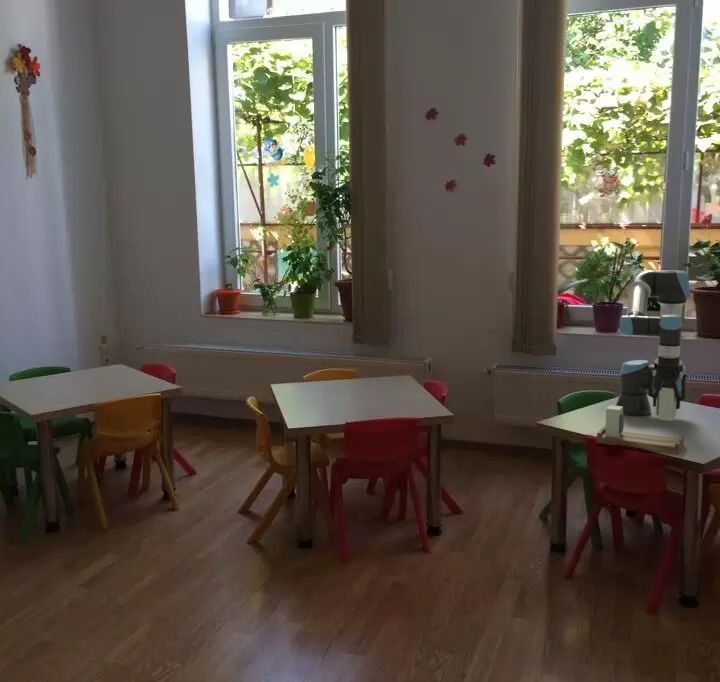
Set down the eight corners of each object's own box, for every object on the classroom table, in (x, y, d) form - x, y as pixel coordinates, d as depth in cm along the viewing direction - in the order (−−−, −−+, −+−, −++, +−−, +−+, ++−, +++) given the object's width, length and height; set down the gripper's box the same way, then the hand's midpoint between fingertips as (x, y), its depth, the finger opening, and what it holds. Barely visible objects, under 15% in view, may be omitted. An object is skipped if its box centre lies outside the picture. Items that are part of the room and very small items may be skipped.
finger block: (659, 415, 291) (660, 387, 289) (674, 417, 288) (676, 389, 286) (656, 419, 286) (657, 390, 284) (672, 420, 283) (673, 392, 281)
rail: (604, 435, 306) (604, 425, 306) (683, 445, 291) (684, 435, 290) (596, 442, 296) (597, 433, 296) (678, 454, 281) (678, 444, 280)
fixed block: (609, 431, 302) (610, 405, 300) (623, 433, 299) (624, 406, 297) (605, 435, 297) (606, 408, 295) (619, 437, 294) (621, 410, 292)
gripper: (640, 355, 285) (638, 415, 288) (694, 359, 275) (690, 421, 279) (645, 352, 291) (642, 410, 295) (697, 356, 281) (693, 416, 285)
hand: (665, 415), depth 287 cm, fingers closed on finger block, 6 cm apart
